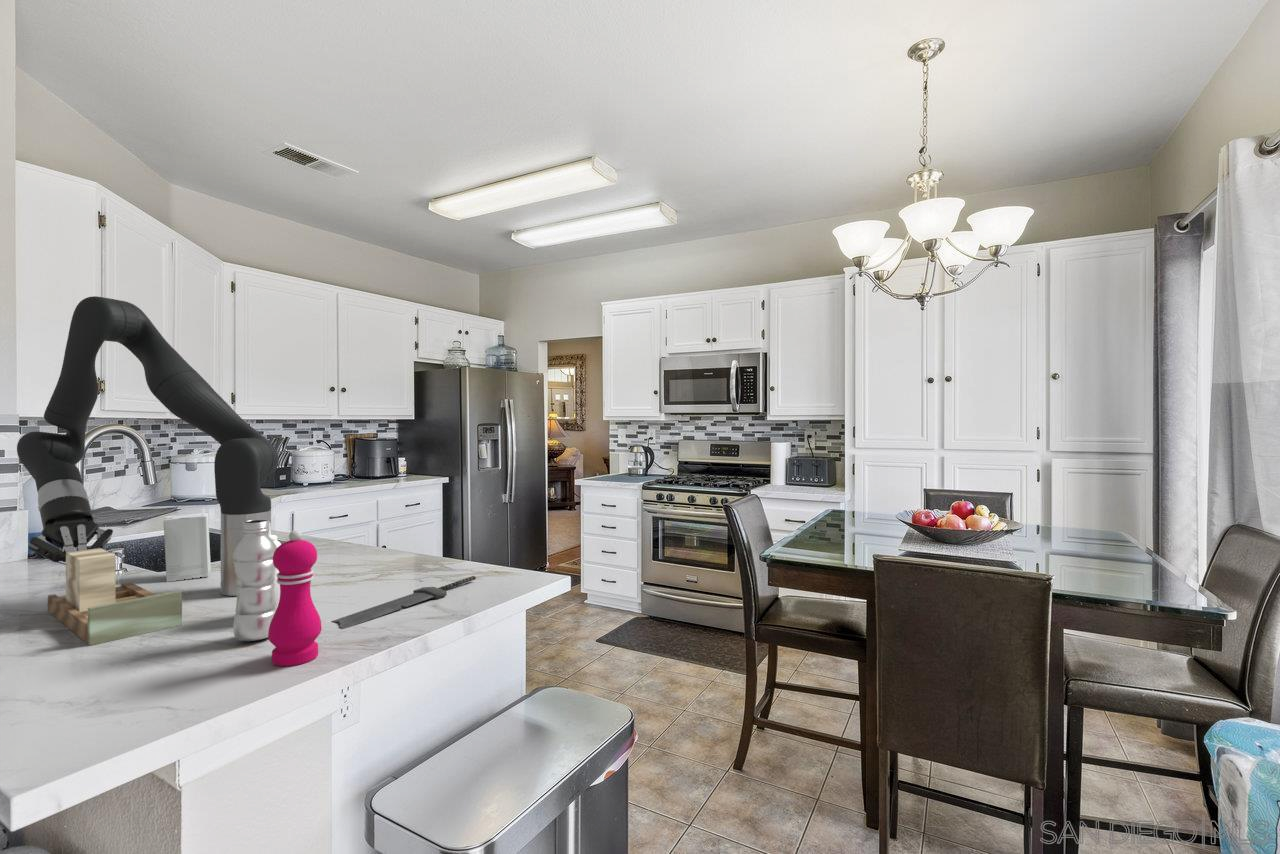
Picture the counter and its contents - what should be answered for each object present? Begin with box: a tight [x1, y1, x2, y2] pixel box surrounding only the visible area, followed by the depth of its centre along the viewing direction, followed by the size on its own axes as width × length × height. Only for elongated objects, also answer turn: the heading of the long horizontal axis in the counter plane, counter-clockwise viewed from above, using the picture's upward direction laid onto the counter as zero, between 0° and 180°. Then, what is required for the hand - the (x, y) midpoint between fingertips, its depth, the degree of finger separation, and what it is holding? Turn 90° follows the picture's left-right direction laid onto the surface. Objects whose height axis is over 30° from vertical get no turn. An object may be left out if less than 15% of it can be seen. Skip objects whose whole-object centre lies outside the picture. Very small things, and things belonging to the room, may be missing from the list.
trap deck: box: [47, 581, 183, 646], centre depth 112 cm, size 30×12×6 cm, turn 54°
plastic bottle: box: [232, 520, 277, 642], centre depth 101 cm, size 6×7×20 cm
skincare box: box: [163, 512, 212, 583], centre depth 141 cm, size 8×6×15 cm
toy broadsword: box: [330, 575, 477, 630], centre depth 123 cm, size 7×35×2 cm, turn 150°
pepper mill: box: [267, 529, 323, 667], centre depth 93 cm, size 7×7×20 cm
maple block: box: [65, 548, 116, 612], centre depth 113 cm, size 10×5×10 cm, turn 54°
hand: (80, 574), depth 117 cm, fingers closed
